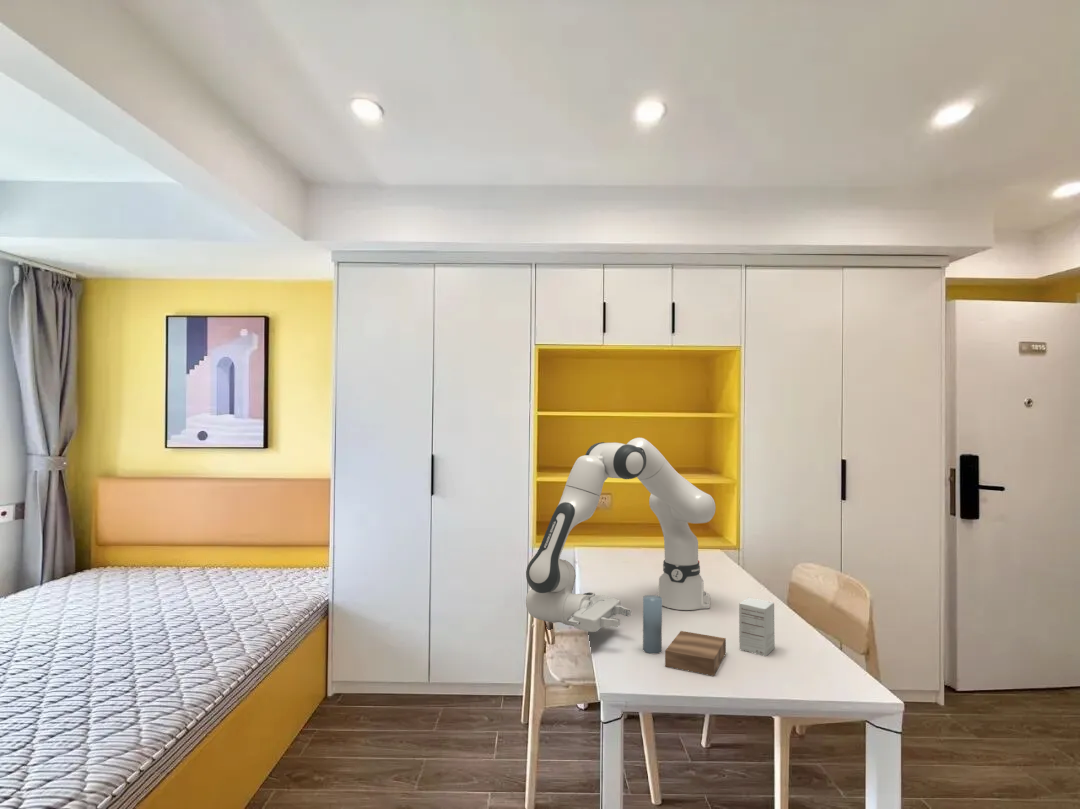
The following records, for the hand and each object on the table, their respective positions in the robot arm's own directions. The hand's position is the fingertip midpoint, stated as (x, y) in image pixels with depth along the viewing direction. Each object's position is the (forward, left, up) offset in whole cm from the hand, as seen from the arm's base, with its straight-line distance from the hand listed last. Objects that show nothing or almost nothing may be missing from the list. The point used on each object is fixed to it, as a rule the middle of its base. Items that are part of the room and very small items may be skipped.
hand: (624, 618), depth 167 cm
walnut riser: (+1, +20, -7) cm, 21 cm away
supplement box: (-14, +33, -8) cm, 36 cm away
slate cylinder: (0, +8, -7) cm, 11 cm away
